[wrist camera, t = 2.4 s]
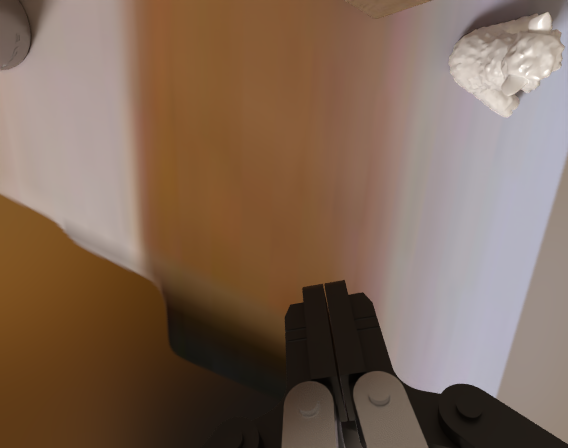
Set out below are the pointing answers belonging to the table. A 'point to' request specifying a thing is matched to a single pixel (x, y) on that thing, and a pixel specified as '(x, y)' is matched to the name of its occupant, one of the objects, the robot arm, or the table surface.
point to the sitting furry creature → (506, 60)
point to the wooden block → (384, 6)
